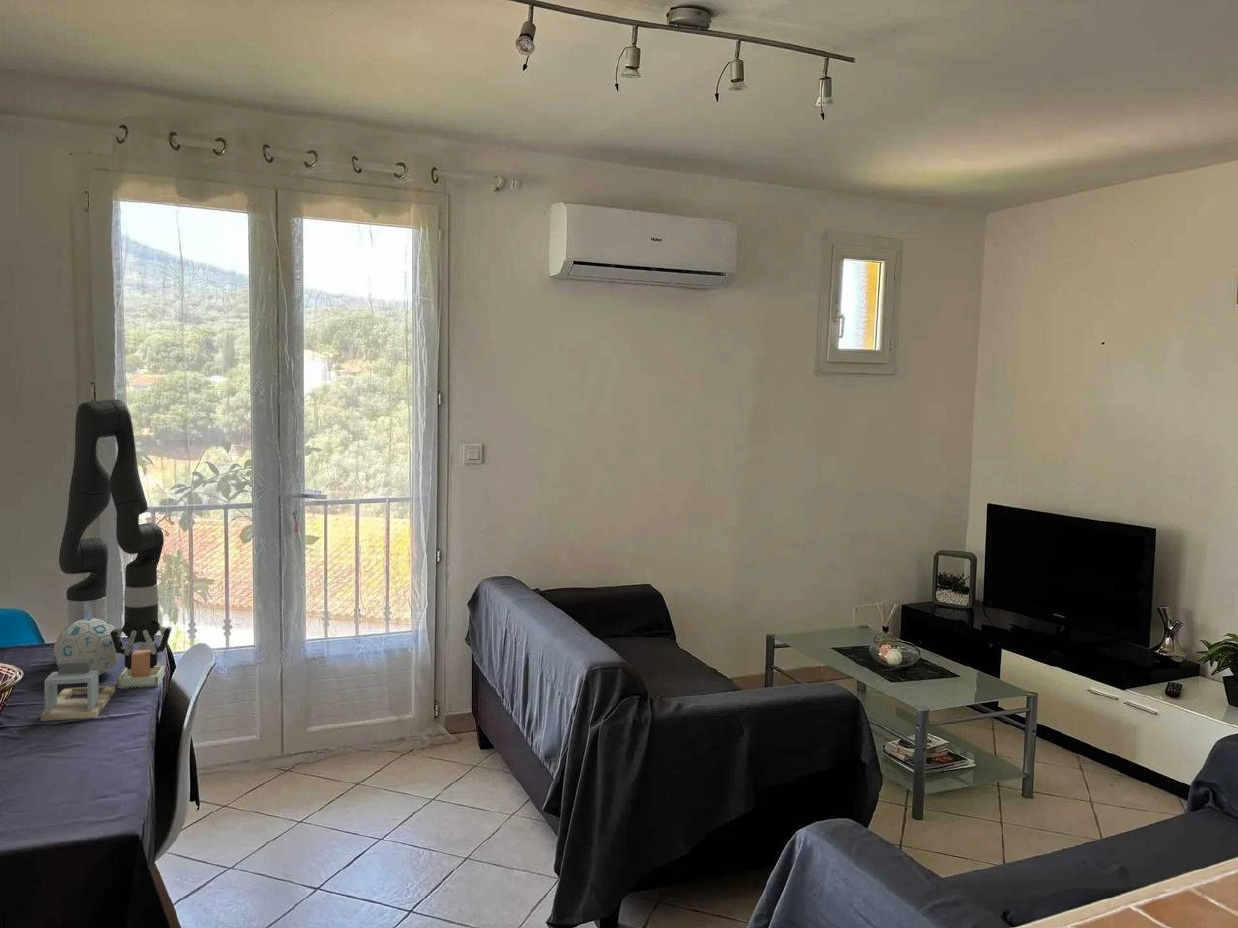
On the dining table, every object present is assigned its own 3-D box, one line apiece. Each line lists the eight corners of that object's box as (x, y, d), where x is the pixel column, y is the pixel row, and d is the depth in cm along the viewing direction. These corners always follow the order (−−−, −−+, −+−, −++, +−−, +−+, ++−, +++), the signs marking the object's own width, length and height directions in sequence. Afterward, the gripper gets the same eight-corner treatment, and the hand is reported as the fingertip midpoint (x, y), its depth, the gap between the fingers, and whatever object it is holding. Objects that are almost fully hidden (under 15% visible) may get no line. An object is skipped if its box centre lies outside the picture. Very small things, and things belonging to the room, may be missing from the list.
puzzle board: (64, 694, 212) (64, 688, 211) (115, 691, 215) (115, 685, 215) (40, 721, 195) (40, 714, 195) (96, 717, 198) (96, 711, 198)
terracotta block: (134, 676, 224) (135, 650, 223) (151, 676, 225) (152, 649, 224) (131, 681, 220) (131, 654, 219) (148, 681, 221) (149, 654, 221)
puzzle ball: (135, 669, 231) (134, 614, 230) (95, 688, 216) (94, 629, 215) (82, 665, 233) (81, 610, 232) (39, 683, 218) (38, 625, 217)
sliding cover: (53, 703, 201) (52, 661, 200) (98, 700, 204) (98, 659, 203) (44, 713, 195) (44, 669, 194) (91, 710, 198) (91, 667, 197)
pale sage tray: (125, 676, 225) (125, 667, 225) (164, 674, 228) (164, 665, 228) (117, 688, 217) (117, 678, 217) (157, 686, 220) (157, 676, 219)
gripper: (105, 606, 215) (105, 674, 216) (169, 605, 219) (169, 671, 221) (113, 599, 222) (113, 664, 224) (175, 597, 226) (175, 662, 228)
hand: (141, 667), depth 222 cm, fingers open, 4 cm apart
